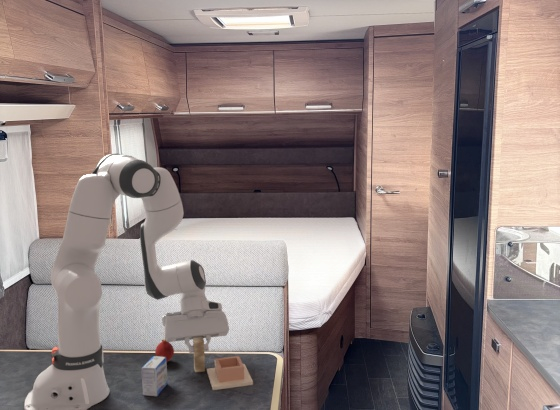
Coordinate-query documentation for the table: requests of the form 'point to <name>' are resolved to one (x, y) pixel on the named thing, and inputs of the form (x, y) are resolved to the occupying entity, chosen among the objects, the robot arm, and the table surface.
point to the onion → (165, 350)
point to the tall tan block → (199, 354)
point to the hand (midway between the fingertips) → (199, 351)
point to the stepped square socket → (229, 373)
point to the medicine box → (154, 376)
